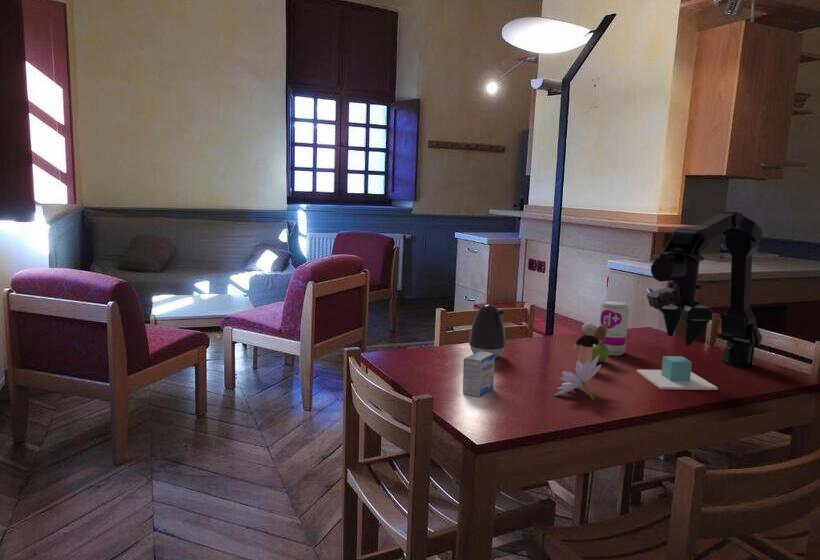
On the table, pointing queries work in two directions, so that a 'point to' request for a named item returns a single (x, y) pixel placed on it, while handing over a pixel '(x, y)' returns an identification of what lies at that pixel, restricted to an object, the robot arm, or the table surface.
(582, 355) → the grandmother figurine
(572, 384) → the water lily
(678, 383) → the tile
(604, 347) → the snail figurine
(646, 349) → the table surface
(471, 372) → the medicine box
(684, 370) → the cube
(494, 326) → the penguin figurine
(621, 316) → the supplement can
